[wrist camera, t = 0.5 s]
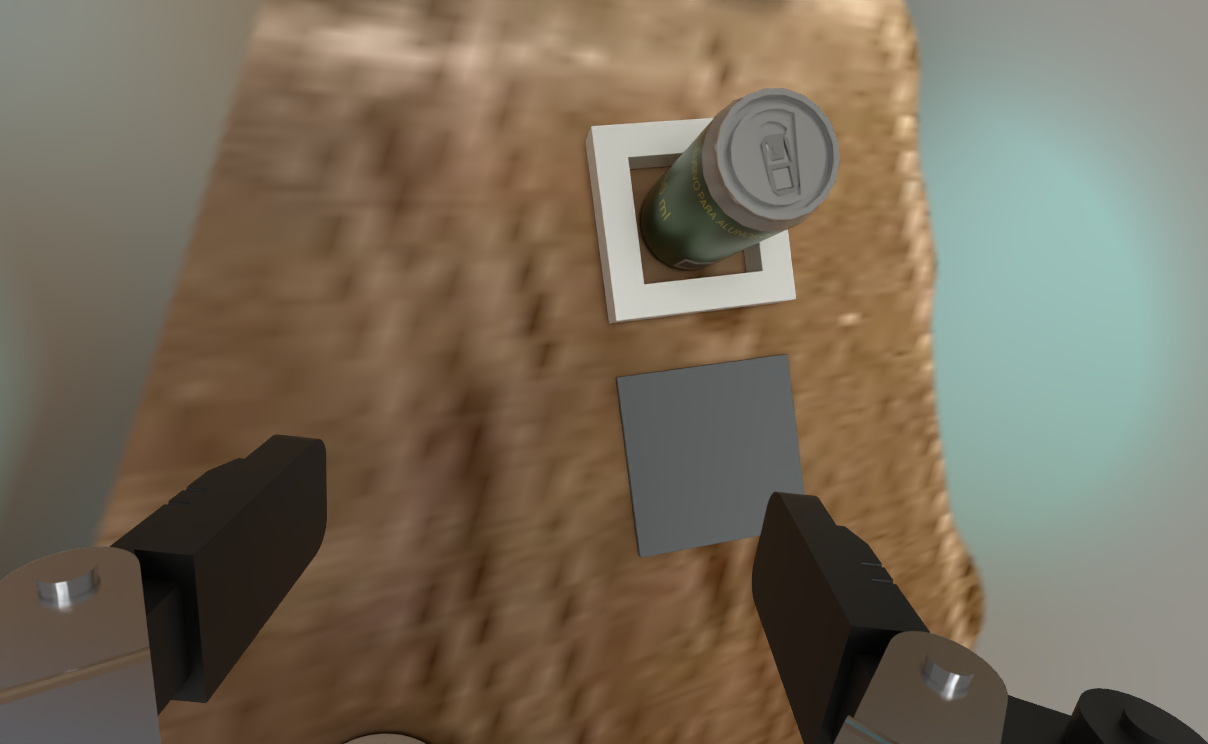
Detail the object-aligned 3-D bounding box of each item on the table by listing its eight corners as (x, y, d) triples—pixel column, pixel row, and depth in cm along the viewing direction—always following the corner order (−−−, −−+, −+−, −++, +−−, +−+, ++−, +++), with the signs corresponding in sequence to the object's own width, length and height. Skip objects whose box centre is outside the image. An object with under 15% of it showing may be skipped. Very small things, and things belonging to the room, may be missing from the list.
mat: (615, 377, 35) (617, 377, 34) (784, 354, 36) (787, 354, 36) (638, 555, 35) (640, 557, 35) (804, 524, 37) (808, 526, 36)
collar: (585, 141, 34) (591, 126, 32) (757, 128, 36) (773, 113, 34) (608, 323, 35) (616, 320, 33) (778, 302, 36) (796, 298, 34)
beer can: (739, 261, 36) (858, 210, 24) (650, 281, 35) (728, 239, 23) (718, 168, 36) (828, 70, 24) (627, 186, 35) (695, 94, 23)
